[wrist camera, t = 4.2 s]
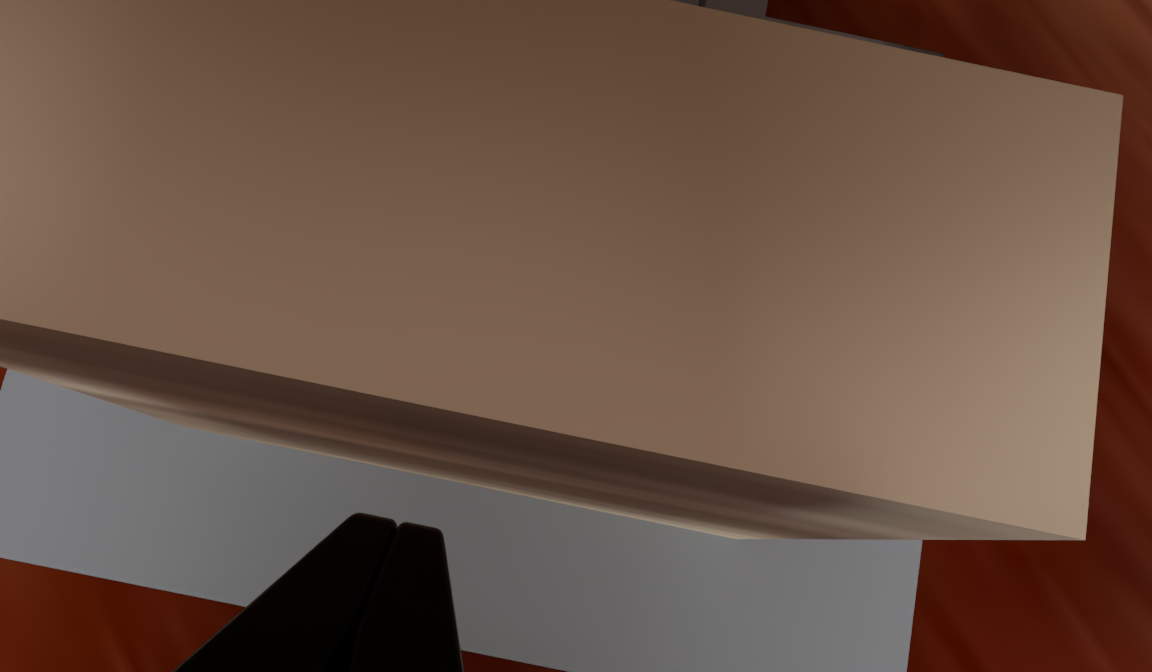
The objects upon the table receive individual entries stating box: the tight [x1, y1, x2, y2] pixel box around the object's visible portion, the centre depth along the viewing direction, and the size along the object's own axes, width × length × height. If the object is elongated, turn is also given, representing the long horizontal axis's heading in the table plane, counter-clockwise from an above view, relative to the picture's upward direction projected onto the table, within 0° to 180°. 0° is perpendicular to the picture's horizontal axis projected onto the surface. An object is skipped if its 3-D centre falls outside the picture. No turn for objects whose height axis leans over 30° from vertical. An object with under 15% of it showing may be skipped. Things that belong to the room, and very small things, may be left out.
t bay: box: [0, 0, 944, 672], centre depth 16 cm, size 17×15×2 cm
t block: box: [0, 0, 1123, 540], centre depth 12 cm, size 10×9×10 cm
